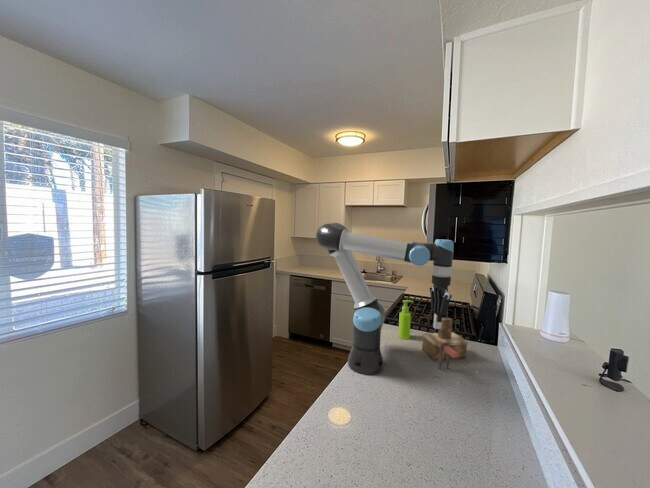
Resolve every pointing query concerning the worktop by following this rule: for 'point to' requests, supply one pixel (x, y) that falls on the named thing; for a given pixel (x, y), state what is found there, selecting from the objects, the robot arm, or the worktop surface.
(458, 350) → the toolbox
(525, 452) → the worktop surface
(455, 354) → the red bar
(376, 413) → the worktop surface
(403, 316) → the soap dispenser
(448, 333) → the wooden board with post
